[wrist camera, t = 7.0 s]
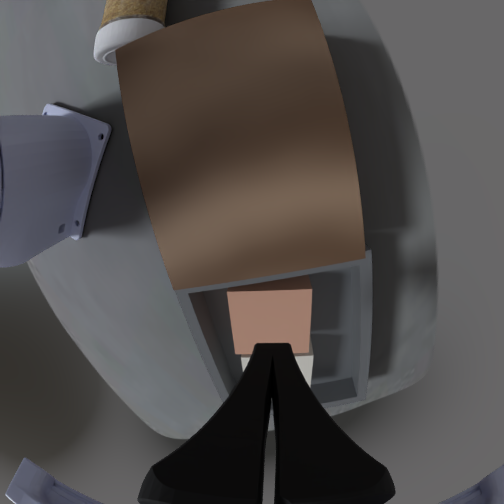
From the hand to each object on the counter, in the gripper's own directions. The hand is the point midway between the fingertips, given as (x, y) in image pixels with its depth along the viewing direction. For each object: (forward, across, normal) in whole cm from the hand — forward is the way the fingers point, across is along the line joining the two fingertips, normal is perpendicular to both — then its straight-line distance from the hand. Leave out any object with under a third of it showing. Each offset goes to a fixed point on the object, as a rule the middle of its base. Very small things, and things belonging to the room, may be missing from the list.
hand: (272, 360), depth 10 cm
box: (+9, -1, +6) cm, 11 cm away
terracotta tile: (+8, 0, +2) cm, 9 cm away
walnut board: (+9, +1, -9) cm, 12 cm away
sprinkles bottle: (+7, +7, -29) cm, 30 cm away
